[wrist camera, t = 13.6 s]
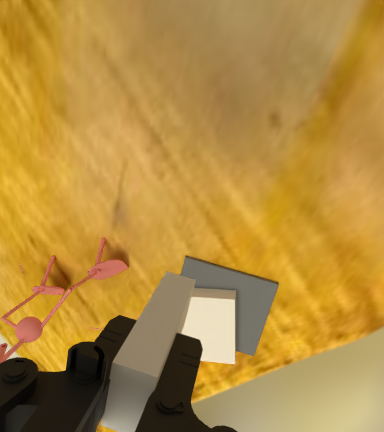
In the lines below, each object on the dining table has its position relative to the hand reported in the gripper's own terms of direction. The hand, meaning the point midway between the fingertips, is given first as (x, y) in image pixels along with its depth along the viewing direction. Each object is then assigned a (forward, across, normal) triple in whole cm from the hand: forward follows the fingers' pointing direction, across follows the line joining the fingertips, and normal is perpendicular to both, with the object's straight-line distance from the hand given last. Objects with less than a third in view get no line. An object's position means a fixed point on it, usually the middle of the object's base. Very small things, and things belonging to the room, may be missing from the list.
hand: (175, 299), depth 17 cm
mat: (+28, +3, -17) cm, 33 cm away
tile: (+26, +6, -18) cm, 33 cm away
